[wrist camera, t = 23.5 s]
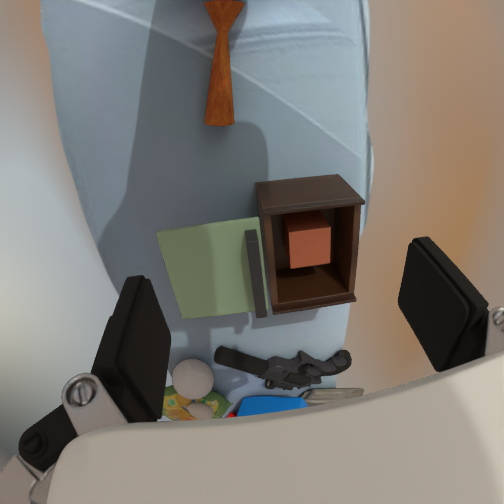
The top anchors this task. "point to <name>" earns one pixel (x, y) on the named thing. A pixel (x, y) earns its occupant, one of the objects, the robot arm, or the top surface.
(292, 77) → the top surface
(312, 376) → the revolver
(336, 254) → the walnut box
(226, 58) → the kendama
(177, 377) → the beige rounded piece
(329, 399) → the stone
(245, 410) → the blue toy gun
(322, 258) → the terracotta block
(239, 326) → the top surface
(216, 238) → the sliding lid
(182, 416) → the educational model
